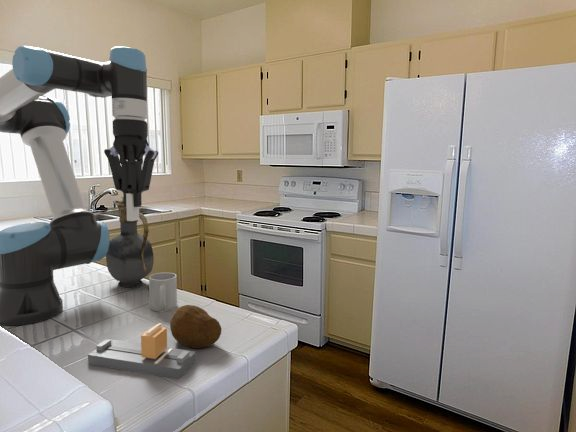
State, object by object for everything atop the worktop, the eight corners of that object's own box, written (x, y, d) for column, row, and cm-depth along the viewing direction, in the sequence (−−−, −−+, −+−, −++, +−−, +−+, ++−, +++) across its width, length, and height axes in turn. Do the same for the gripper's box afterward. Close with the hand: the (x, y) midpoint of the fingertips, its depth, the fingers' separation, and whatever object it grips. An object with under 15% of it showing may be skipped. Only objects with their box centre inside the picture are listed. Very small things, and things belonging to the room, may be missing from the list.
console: (88, 364, 77) (87, 350, 77) (111, 347, 84) (110, 334, 83) (179, 378, 73) (179, 364, 72) (195, 360, 80) (195, 347, 79)
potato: (192, 360, 80) (191, 320, 78) (161, 341, 87) (160, 305, 86) (224, 346, 86) (224, 309, 85) (192, 330, 94) (192, 295, 93)
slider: (141, 356, 76) (140, 331, 75) (153, 346, 80) (153, 322, 79) (155, 359, 75) (154, 333, 74) (167, 348, 79) (166, 324, 78)
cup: (177, 301, 112) (176, 271, 111) (176, 314, 103) (176, 282, 101) (150, 303, 110) (150, 273, 109) (148, 317, 101) (147, 284, 99)
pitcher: (134, 276, 134) (132, 190, 130) (164, 289, 122) (162, 195, 117) (103, 283, 126) (99, 192, 122) (131, 297, 114) (128, 197, 109)
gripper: (94, 117, 86) (98, 220, 90) (146, 117, 84) (148, 224, 87) (116, 121, 94) (119, 216, 97) (164, 121, 91) (166, 219, 94)
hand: (133, 220), depth 92 cm, fingers closed
